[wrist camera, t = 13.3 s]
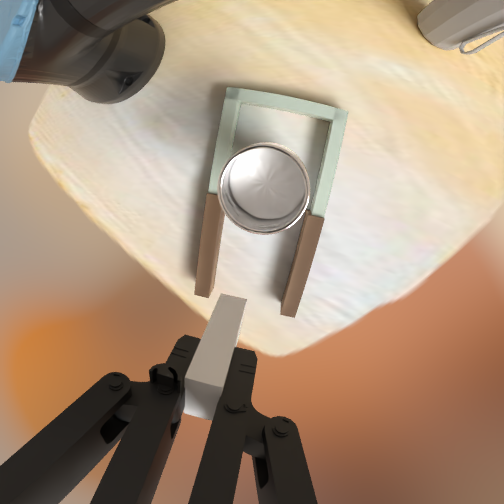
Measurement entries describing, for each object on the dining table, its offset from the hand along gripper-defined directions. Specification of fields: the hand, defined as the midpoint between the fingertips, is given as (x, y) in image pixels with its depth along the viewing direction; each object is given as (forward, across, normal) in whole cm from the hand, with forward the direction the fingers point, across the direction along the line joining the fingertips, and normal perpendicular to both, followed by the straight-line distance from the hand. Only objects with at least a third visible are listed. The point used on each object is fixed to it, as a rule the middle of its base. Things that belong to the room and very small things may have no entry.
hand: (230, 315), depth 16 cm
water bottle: (+21, +19, +34) cm, 44 cm away
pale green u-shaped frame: (+21, 0, +9) cm, 23 cm away
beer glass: (+21, 0, +6) cm, 22 cm away
